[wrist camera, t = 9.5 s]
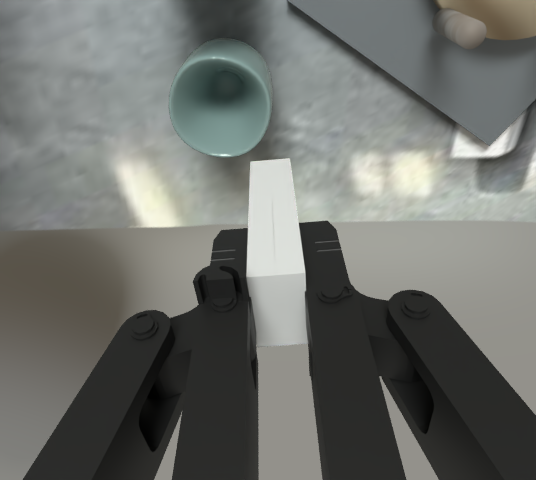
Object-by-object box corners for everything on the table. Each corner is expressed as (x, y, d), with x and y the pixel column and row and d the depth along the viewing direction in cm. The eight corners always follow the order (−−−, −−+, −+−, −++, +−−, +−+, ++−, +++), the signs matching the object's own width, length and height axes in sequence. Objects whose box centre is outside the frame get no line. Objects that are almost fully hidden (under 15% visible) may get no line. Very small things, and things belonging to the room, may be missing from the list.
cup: (282, 42, 38) (284, 72, 30) (261, 124, 42) (257, 169, 34) (196, 18, 37) (174, 41, 29) (184, 104, 41) (161, 145, 33)
